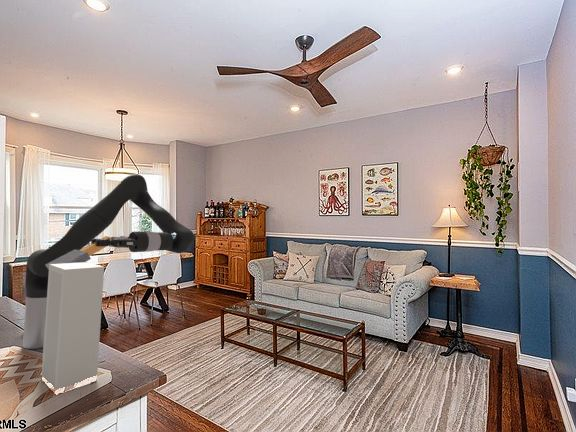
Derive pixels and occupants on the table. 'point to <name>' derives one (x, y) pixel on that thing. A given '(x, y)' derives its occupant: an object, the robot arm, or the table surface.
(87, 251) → the grey paddle with handle
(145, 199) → the robot arm
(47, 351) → the tall grey pillar
